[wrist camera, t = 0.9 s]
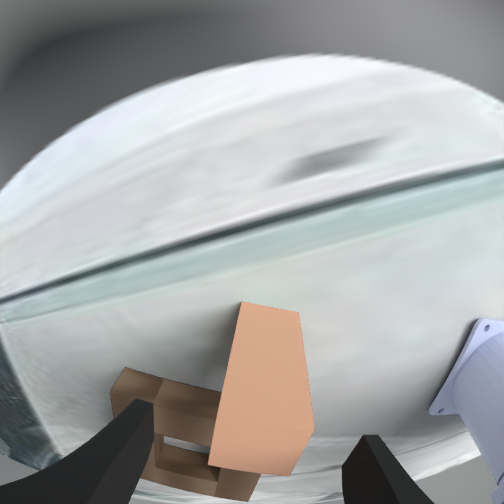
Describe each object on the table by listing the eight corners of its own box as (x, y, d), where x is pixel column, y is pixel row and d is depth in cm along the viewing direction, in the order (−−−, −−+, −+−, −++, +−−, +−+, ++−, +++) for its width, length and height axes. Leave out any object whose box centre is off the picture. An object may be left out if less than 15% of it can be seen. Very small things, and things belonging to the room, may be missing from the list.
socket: (279, 402, 18) (279, 430, 15) (250, 478, 21) (248, 501, 18) (125, 367, 18) (110, 391, 15) (133, 451, 21) (124, 472, 18)
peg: (298, 312, 16) (314, 428, 8) (285, 358, 17) (289, 476, 9) (241, 301, 16) (217, 414, 8) (232, 348, 17) (207, 464, 9)
